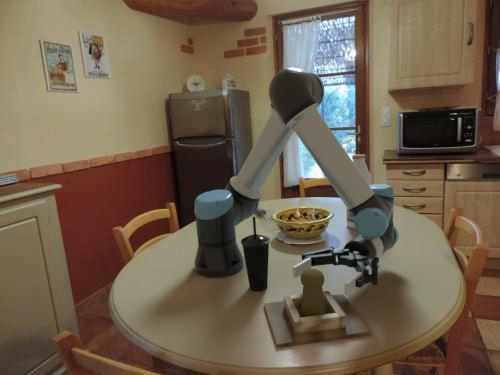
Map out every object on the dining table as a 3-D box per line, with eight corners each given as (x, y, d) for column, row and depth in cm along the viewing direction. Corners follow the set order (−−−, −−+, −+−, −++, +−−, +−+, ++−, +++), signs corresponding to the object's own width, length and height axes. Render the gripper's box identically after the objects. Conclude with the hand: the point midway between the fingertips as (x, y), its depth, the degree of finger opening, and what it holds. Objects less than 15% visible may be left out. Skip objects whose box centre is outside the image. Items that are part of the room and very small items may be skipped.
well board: (277, 347, 73) (276, 332, 72) (264, 306, 89) (263, 293, 88) (371, 334, 75) (371, 319, 74) (342, 296, 91) (342, 283, 90)
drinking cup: (256, 278, 104) (251, 211, 99) (277, 285, 99) (274, 215, 95) (238, 289, 98) (233, 218, 94) (261, 297, 93) (256, 223, 89)
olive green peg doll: (327, 324, 78) (326, 278, 76) (299, 323, 80) (297, 277, 77) (327, 309, 84) (326, 265, 82) (300, 308, 85) (299, 265, 83)
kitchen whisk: (257, 207, 178) (256, 195, 177) (285, 227, 147) (285, 212, 145) (245, 209, 176) (244, 197, 175) (271, 230, 145) (271, 215, 144)
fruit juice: (368, 221, 146) (368, 152, 140) (374, 229, 137) (375, 155, 131) (344, 222, 147) (343, 154, 141) (349, 230, 138) (348, 157, 132)
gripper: (410, 275, 88) (371, 314, 73) (322, 252, 105) (276, 280, 90) (411, 246, 87) (371, 280, 72) (322, 228, 104) (275, 252, 89)
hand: (318, 280), depth 81 cm, fingers open, 13 cm apart
